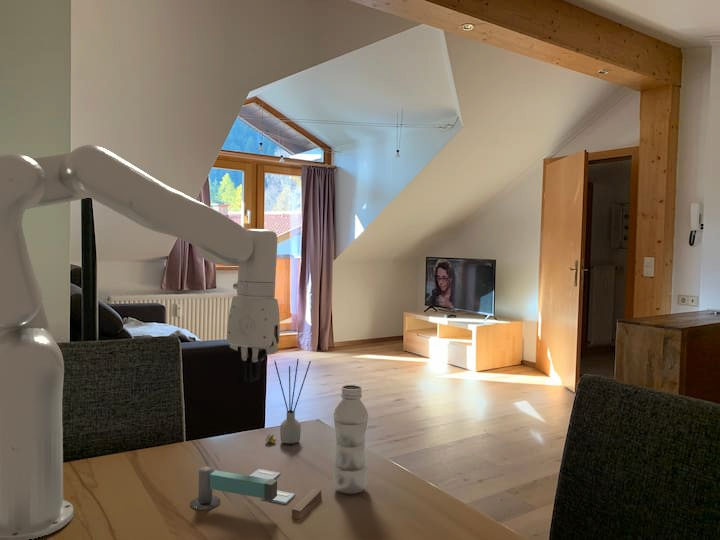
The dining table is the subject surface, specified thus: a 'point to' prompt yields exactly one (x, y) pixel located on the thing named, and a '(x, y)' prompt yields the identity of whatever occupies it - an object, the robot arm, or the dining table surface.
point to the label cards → (281, 496)
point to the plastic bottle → (350, 442)
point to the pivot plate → (206, 506)
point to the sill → (306, 504)
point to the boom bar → (234, 485)
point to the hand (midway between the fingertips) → (251, 379)
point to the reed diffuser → (289, 417)
